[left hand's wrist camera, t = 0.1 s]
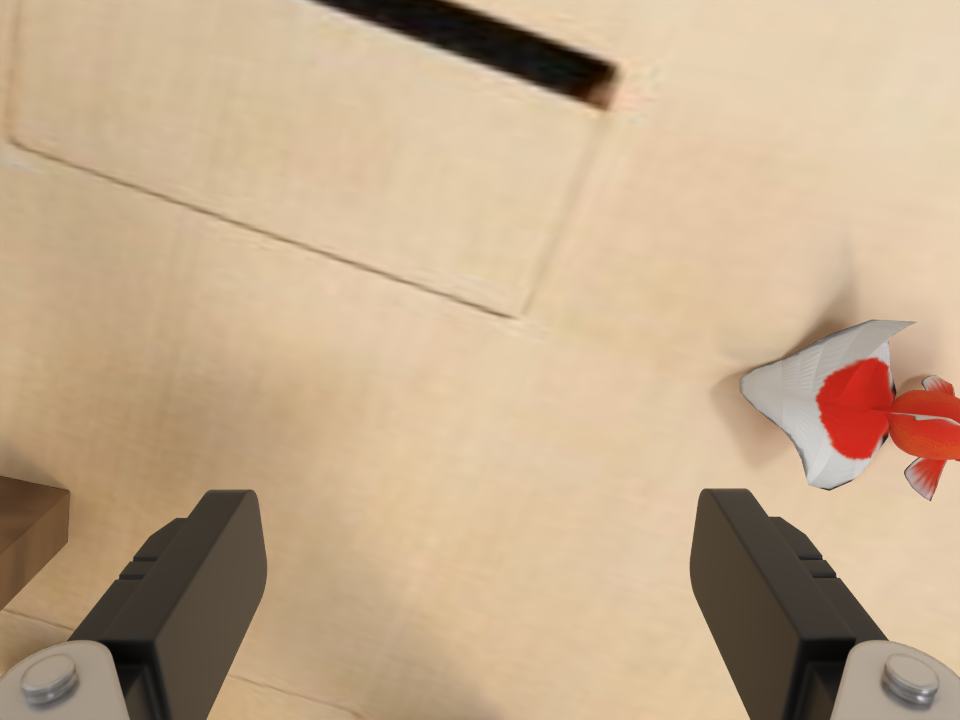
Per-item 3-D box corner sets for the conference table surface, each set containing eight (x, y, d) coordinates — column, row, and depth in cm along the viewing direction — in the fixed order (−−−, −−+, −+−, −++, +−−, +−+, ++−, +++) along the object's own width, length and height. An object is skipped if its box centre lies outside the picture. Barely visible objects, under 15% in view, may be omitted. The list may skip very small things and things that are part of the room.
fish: (923, 556, 42) (1011, 585, 32) (701, 432, 46) (720, 425, 36) (1004, 414, 42) (1116, 401, 32) (776, 304, 46) (815, 263, 36)
